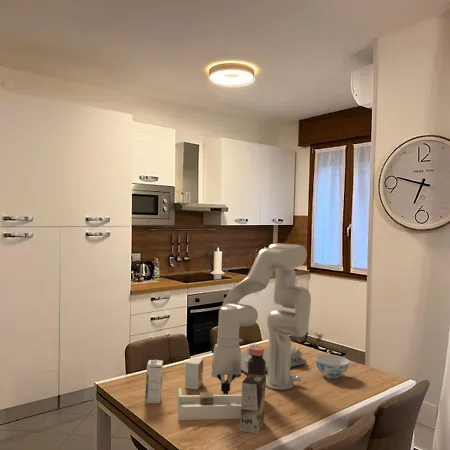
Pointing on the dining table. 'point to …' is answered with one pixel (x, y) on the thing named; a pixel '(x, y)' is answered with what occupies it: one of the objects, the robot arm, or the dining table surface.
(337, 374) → the chinaware
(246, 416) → the coffee box
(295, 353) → the decorative tray
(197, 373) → the small box
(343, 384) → the dining table surface
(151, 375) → the syrup box
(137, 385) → the dining table surface
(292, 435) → the dining table surface
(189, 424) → the dining table surface
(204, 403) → the walnut block
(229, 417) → the tray
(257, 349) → the bottle
